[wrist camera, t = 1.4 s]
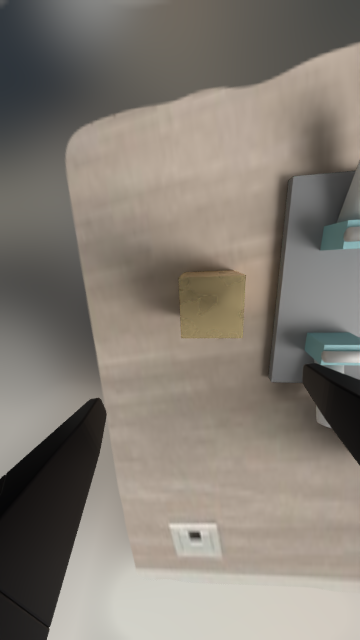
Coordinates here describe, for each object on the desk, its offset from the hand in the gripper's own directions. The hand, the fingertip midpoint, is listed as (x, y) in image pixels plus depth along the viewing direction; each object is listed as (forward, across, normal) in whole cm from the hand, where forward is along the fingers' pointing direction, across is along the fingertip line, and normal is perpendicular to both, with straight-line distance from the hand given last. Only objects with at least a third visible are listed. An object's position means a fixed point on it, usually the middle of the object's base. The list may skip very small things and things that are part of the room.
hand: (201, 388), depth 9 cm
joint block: (+14, -3, 0) cm, 14 cm away
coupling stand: (+12, -14, +1) cm, 19 cm away
